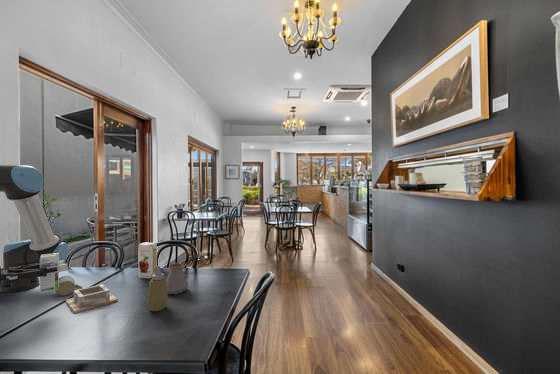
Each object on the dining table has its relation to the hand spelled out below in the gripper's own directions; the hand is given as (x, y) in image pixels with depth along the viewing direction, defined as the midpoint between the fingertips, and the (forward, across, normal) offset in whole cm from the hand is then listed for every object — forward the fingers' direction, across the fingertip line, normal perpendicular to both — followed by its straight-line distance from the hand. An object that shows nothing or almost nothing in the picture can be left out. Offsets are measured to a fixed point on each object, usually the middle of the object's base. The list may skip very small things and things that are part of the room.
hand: (65, 265), depth 116 cm
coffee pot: (+45, +14, -18) cm, 51 cm away
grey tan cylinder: (+5, -19, -18) cm, 27 cm away
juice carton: (+40, -17, -18) cm, 47 cm away
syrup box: (-5, 0, -9) cm, 10 cm away
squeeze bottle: (+27, +28, -18) cm, 43 cm away
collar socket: (+9, +1, -18) cm, 20 cm away
